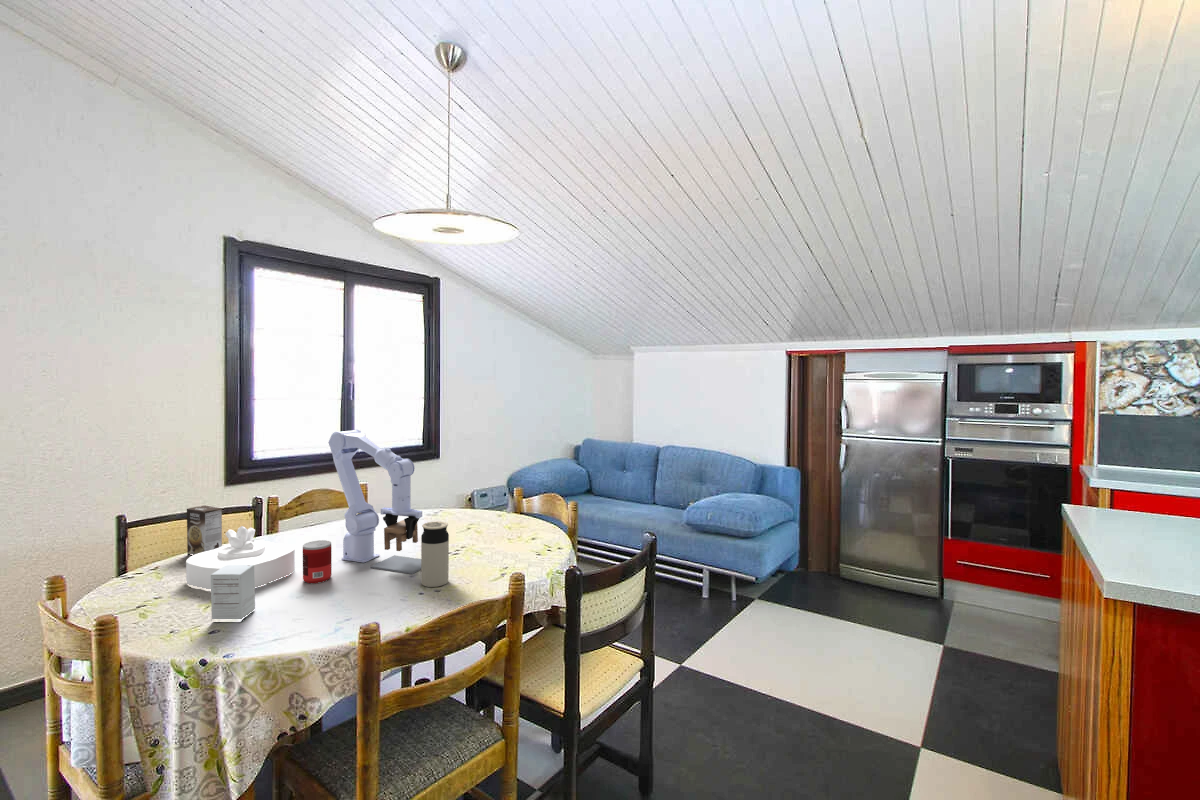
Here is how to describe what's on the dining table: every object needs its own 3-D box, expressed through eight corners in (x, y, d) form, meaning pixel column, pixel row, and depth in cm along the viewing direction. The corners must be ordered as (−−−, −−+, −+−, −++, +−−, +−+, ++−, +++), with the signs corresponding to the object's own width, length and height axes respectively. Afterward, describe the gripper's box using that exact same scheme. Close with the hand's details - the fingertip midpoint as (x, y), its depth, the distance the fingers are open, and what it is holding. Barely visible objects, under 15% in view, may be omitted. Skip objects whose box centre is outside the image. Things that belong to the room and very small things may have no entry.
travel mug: (424, 589, 171) (424, 529, 171) (419, 580, 178) (419, 522, 178) (451, 585, 175) (451, 526, 174) (445, 576, 182) (445, 520, 181)
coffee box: (186, 555, 198) (185, 508, 197) (205, 550, 204) (204, 504, 203) (204, 559, 195) (203, 511, 194) (223, 553, 201) (222, 507, 200)
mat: (370, 567, 189) (370, 566, 189) (394, 556, 200) (394, 555, 200) (412, 574, 184) (412, 572, 184) (434, 562, 195) (434, 560, 195)
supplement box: (226, 611, 154) (226, 564, 153) (256, 611, 154) (255, 564, 154) (210, 623, 146) (209, 574, 146) (241, 623, 147) (240, 573, 146)
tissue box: (172, 585, 171) (171, 531, 171) (248, 560, 195) (247, 512, 194) (235, 598, 163) (234, 541, 162) (306, 569, 187) (306, 520, 186)
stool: (403, 540, 197) (402, 520, 196) (417, 541, 195) (417, 521, 195) (384, 549, 187) (384, 528, 187) (399, 551, 186) (399, 529, 185)
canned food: (337, 576, 181) (337, 541, 180) (316, 585, 173) (316, 549, 173) (317, 573, 183) (317, 539, 183) (296, 582, 176) (296, 546, 175)
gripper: (374, 497, 189) (374, 538, 189) (413, 500, 185) (413, 543, 185) (388, 493, 195) (388, 533, 196) (426, 496, 191) (425, 537, 192)
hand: (401, 537), depth 191 cm, fingers closed on stool, 6 cm apart
